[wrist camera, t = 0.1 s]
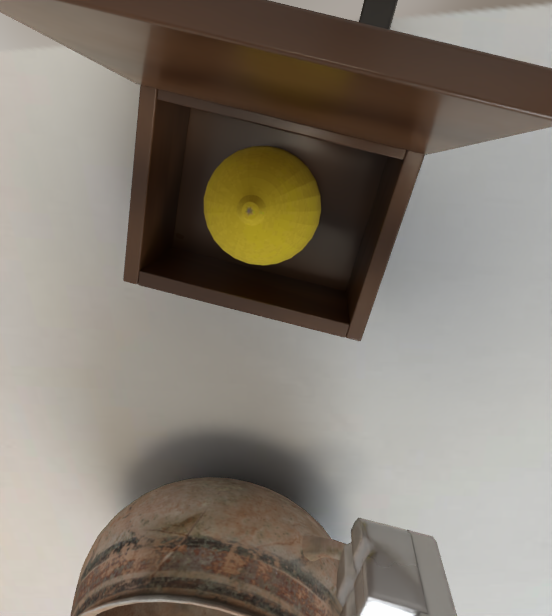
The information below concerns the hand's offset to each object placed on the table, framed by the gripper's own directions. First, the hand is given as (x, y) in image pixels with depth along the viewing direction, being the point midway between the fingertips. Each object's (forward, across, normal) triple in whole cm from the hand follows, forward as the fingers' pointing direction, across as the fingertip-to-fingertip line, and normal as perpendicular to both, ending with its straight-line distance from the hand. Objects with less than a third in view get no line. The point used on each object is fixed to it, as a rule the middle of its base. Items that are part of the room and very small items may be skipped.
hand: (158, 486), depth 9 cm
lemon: (+18, 0, -3) cm, 19 cm away
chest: (+19, 0, -3) cm, 19 cm away
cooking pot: (+19, -2, +23) cm, 30 cm away
